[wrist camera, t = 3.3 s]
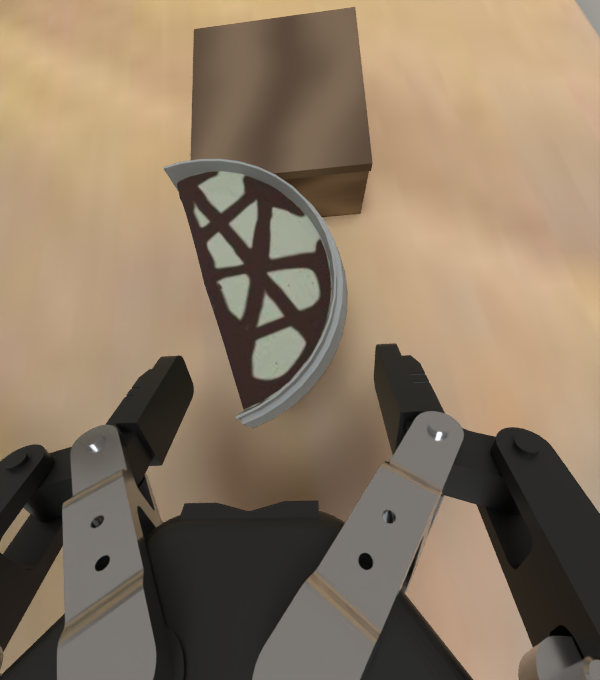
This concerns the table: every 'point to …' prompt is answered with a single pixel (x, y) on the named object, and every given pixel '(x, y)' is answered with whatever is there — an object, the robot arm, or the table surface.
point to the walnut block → (286, 103)
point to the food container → (265, 279)
